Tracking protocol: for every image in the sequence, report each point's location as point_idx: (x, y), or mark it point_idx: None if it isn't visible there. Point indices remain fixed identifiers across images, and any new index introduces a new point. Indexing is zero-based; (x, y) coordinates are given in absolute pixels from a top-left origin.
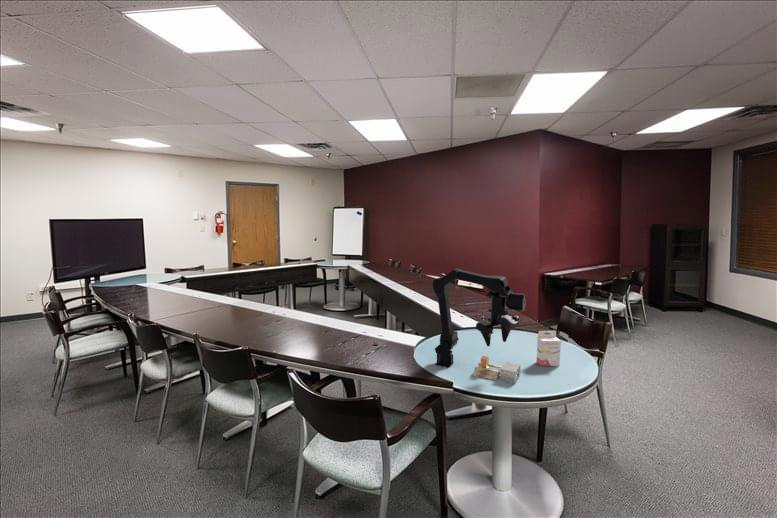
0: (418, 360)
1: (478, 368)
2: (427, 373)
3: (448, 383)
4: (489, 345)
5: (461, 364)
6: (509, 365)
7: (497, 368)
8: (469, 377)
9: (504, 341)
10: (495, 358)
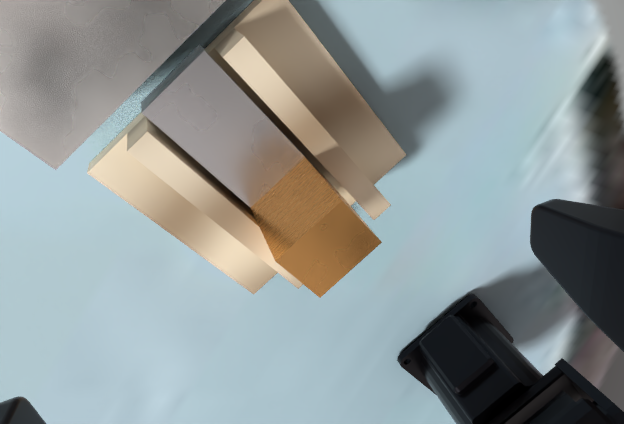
0: None
1: (367, 180)
2: None
3: (612, 78)
4: (559, 207)
5: (361, 332)
6: (58, 31)
7: (190, 127)
8: (438, 126)
9: (26, 415)
10: None
